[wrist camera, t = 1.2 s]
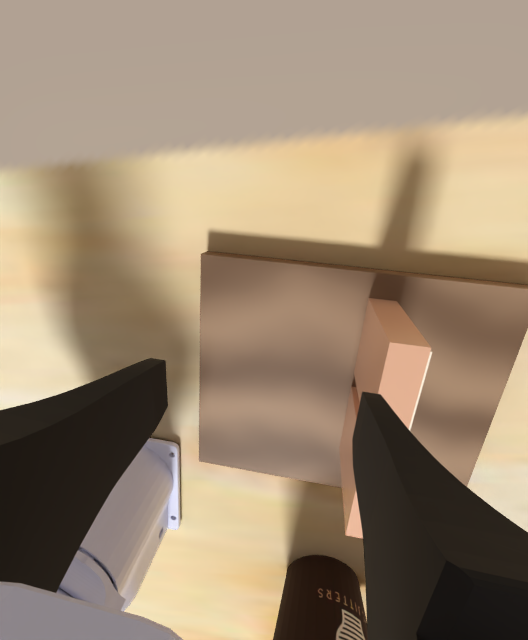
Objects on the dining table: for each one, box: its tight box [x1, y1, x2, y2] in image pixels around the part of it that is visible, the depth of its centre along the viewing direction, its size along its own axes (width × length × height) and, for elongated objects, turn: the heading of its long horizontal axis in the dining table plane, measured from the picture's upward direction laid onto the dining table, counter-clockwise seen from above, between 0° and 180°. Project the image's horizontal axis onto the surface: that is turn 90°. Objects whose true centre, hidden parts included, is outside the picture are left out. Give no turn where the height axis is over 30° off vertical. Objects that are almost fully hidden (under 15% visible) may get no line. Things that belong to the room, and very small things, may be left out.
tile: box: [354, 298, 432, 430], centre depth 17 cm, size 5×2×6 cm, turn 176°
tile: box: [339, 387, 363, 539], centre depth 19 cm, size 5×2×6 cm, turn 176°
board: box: [199, 251, 528, 488], centre depth 22 cm, size 16×19×1 cm
